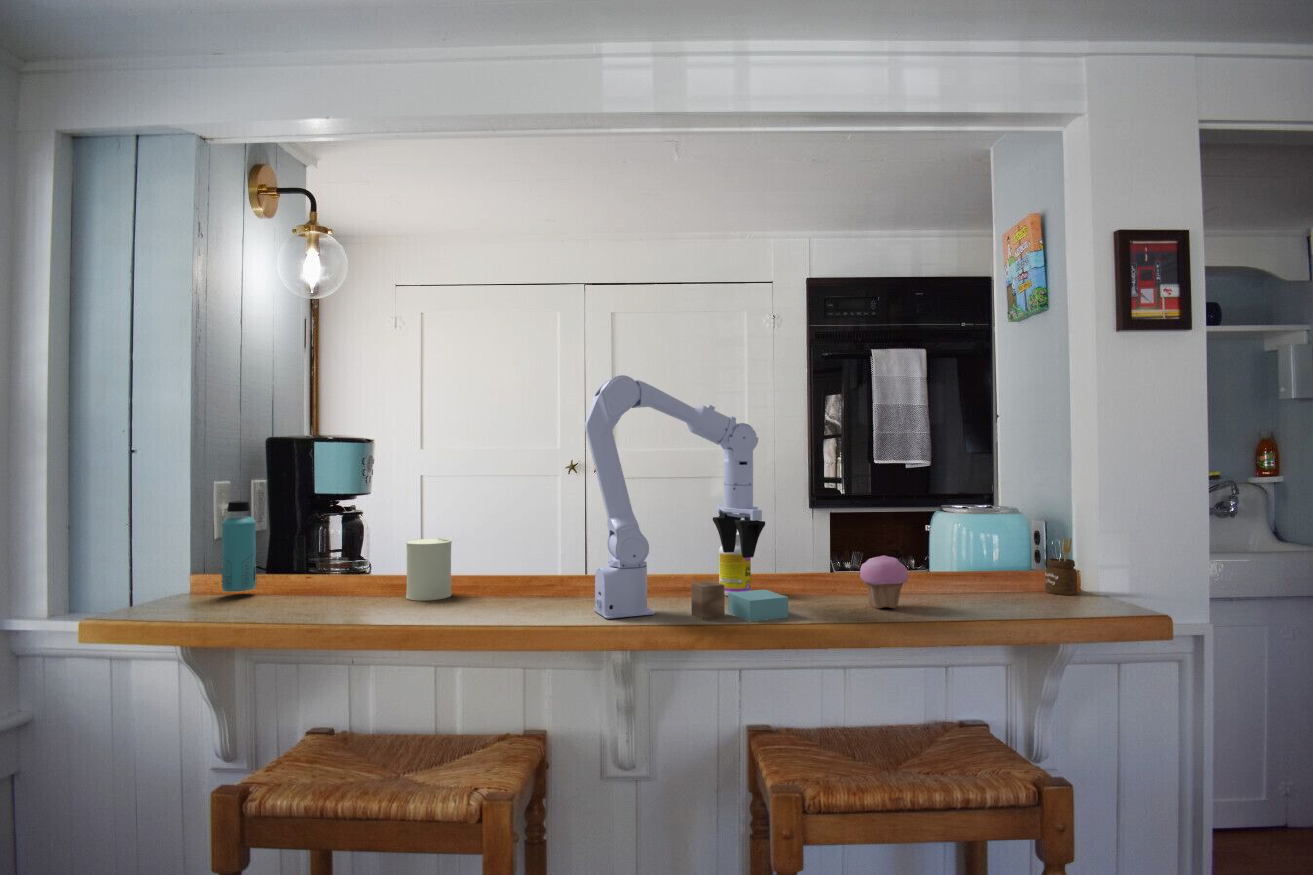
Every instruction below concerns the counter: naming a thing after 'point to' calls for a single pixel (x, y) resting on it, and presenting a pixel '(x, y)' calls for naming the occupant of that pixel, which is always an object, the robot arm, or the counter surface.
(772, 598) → the teal base box
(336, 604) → the counter surface
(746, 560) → the supplement bottle
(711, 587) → the walnut block
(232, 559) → the beverage bottle
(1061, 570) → the utensil holder
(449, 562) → the can
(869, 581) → the cupcake
